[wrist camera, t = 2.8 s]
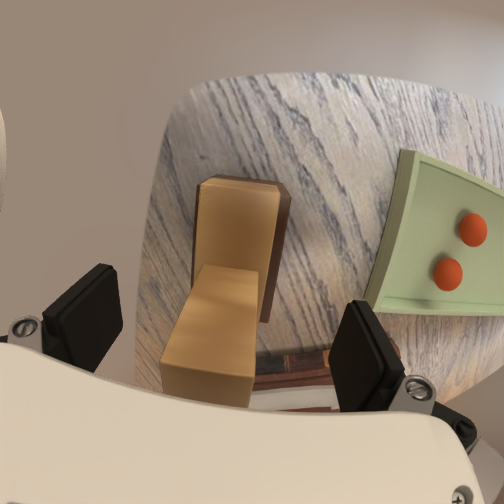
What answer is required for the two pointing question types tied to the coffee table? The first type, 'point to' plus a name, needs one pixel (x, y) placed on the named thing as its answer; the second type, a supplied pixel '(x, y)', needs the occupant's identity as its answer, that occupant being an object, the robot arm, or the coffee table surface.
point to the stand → (276, 247)
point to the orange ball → (473, 230)
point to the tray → (438, 242)
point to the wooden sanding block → (223, 295)
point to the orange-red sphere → (447, 274)
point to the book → (296, 383)
